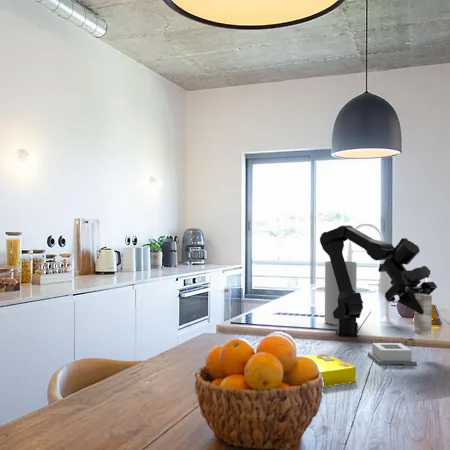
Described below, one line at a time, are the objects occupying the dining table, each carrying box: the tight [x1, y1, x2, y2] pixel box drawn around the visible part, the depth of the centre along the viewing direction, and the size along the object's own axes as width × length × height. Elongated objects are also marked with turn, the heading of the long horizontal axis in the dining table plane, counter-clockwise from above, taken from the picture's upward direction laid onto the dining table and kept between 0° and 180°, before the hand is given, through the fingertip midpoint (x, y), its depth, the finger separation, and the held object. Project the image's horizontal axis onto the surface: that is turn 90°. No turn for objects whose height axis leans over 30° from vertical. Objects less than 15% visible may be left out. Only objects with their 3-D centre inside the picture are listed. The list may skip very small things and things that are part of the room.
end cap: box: [367, 342, 418, 366], centre depth 152 cm, size 11×11×4 cm
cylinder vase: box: [324, 260, 358, 326], centre depth 208 cm, size 12×12×25 cm
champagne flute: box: [378, 272, 396, 324], centre depth 213 cm, size 7×7×24 cm
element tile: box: [302, 353, 357, 387], centre depth 135 cm, size 15×15×5 cm
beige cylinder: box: [413, 294, 433, 336], centre depth 157 cm, size 4×4×12 cm
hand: (426, 313), depth 156 cm, fingers closed on beige cylinder, 3 cm apart
